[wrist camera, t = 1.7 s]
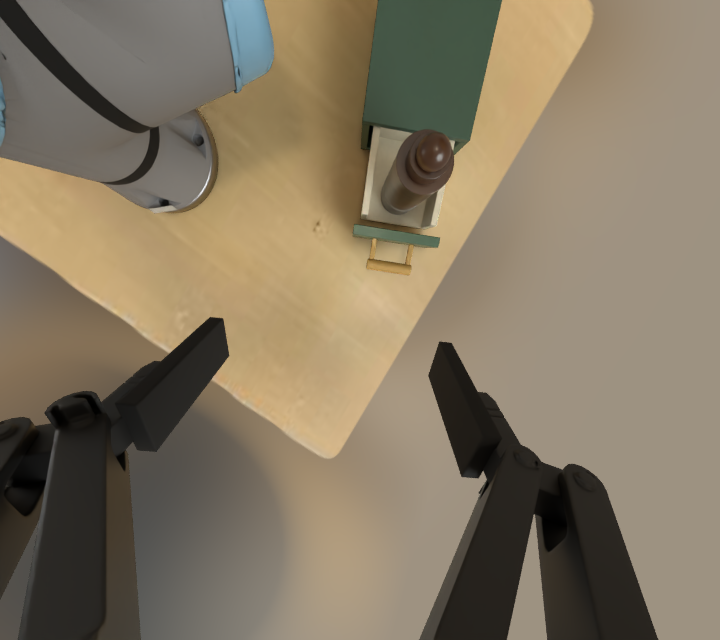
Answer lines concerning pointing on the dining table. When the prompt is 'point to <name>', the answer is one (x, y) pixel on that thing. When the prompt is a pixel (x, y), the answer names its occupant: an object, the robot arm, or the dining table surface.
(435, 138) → the pepper mill
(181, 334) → the dining table surface
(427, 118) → the cabinet
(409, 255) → the drawer
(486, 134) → the dining table surface
